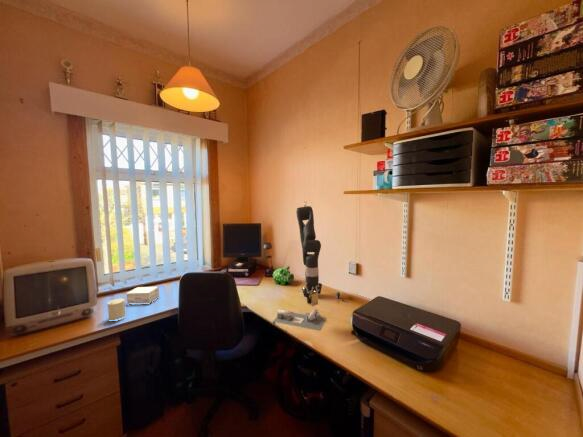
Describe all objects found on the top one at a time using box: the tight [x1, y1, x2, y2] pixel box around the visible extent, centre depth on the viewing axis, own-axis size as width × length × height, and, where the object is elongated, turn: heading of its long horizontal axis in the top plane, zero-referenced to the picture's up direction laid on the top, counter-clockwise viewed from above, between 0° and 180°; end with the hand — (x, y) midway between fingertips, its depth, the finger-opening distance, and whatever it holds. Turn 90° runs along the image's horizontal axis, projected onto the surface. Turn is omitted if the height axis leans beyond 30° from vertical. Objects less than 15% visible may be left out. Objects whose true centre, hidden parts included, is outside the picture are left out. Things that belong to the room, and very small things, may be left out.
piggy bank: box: [272, 265, 295, 286], centre depth 216 cm, size 14×18×15 cm
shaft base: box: [272, 308, 328, 332], centre depth 148 cm, size 16×30×6 cm, turn 68°
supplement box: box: [126, 286, 160, 304], centre depth 183 cm, size 17×13×9 cm
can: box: [107, 298, 127, 321], centre depth 156 cm, size 9×9×12 cm
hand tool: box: [350, 328, 357, 337], centre depth 139 cm, size 19×4×5 cm, turn 147°
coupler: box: [306, 291, 319, 307], centre depth 141 cm, size 4×4×8 cm
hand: (312, 302), depth 141 cm, fingers closed on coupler, 4 cm apart
